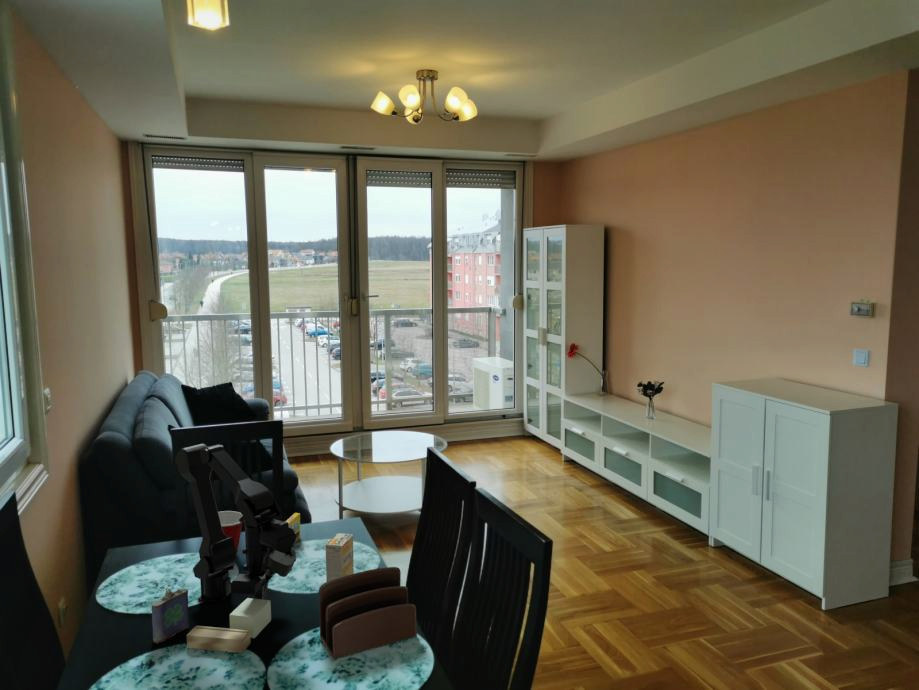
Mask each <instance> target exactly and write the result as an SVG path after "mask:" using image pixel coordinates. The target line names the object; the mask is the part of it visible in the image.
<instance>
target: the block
mask: <svg viewBox="0 0 919 690" xmlns="http://www.w3.org/2000/svg"><path fill="white" fill-rule="evenodd" d="M271 605H272V604H271V599H269V600H268V599H264V600H262V599H254V598H250V597H247V598H246V599H245V600H243V602H241V603H240V604H239V605H237V607H236V608H235V609H233V611H232V612H231V613H230V614H229V629H239V630H250V639H256V637H257V636H258V635H259V634H260V633H261V632H262V630H264V629H265V628H266V627H267V625H269V623H270V622H271V621H272V611H271V610H272V609H271V607H272V606H271Z"/></svg>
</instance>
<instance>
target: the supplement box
mask: <svg viewBox="0 0 919 690" xmlns="http://www.w3.org/2000/svg"><path fill="white" fill-rule="evenodd" d="M325 567H326V568H325V569H326V570H325V573H326V575H325V576H326V582H329V581H332V580H335V579H338V578H341V577H344V576H348V575H351V574H355V570H354V568H355V566H354V534H352V533H339V532H337V533H336V534H335V535H334V536H333V537H332V538H331V539H330V540H329V541H328V542H327V543H326V544H325Z"/></svg>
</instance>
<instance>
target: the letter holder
mask: <svg viewBox="0 0 919 690" xmlns="http://www.w3.org/2000/svg"><path fill="white" fill-rule="evenodd" d="M401 575H402V574H401V569H400V568H399V567H396V566H388V567H380V568H372V569H368V570H364V571H360V572H354V574H351V575H348V576H344V577H341V578H338V579H335V580H332V581H329V582H327V581H326V582H324V583H322V584H321V585H320V586H319V589H318V605H319V637H320V638H321V639H320V640H321V642H322V644H323V645H324V647H325V649H326V648H327V649H326V650H327V652H328V653H329V655H330V657H331V658H332V660H333V659H335V660H338V658H339V659H341V658H345V657H349V656H353V655H355V654H358V653H362V652H367V651H370V650H373V649H376V648H380V647H384V646H388V645H391V644H394V643H397V642H401V641H404V640H405V641H406V640H407V639H411V638H415V637H417V636H418V632H417V630H418V629H417V607H416V605H415V604H413V603H409V589H408V587H407V586H405V585H401Z"/></svg>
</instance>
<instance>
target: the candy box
mask: <svg viewBox="0 0 919 690" xmlns="http://www.w3.org/2000/svg"><path fill="white" fill-rule="evenodd" d="M285 522H288V525H289V528H292V529H293V530H294V532H295V534H296V540H295V543H297V542H298V540H300V538H301V513H300V512H299V513H298V512H294V513H293V514H292V515H291V516H290V517H289V518H287V520H285Z"/></svg>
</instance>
